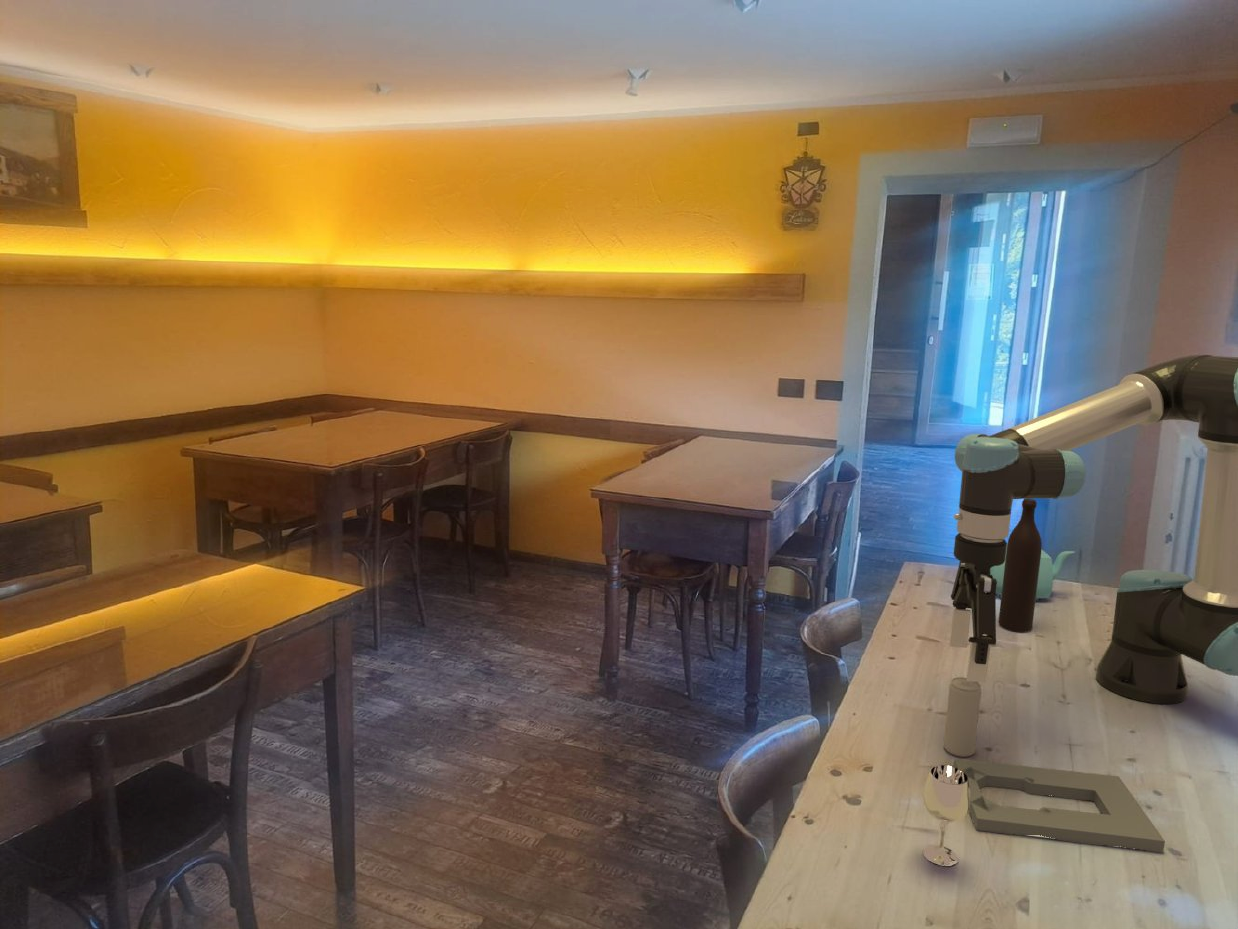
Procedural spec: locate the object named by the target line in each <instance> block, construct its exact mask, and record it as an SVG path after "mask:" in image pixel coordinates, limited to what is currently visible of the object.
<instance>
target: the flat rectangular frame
mask: <svg viewBox="0 0 1238 929" xmlns="http://www.w3.org/2000/svg"><path fill="white" fill-rule="evenodd" d="M953 767H955V768H957V769H960V770H961V771H963V772H964V773H965V774H966V775H967V777H968V781H969V788H970V807H969V811H970V812H969V811H968V812H969V814H970V813H971V815H970V817H972V818H971V820H972V819H973V820H972V822H973V821H974V823H973V825H974V824H975V826H974V828H976V829H977V830H976V829H975V830H976V831H979V832H980V831H982V832H990V833H997V834H998V833H999V834H1004V835H1005V834H1007V835H1013V834H1015V836H1021V835H1040V836H1041V835H1042V836H1044V837H1045V836H1046V837H1049V838H1050V837H1051V838H1055V839H1060V840H1059V841H1062V840H1063V842H1073V843H1079V844H1086V845H1094V844H1095V845H1096V846H1102V845H1109V846H1108V847H1111V846H1119V847H1120V846H1121V847H1126V848H1125V849H1127V848H1135V849H1140V850H1139V851H1143V850H1146V851H1145V852H1151V851H1153V853H1159V852H1162V853H1161V854H1164V850H1165V842H1166V841H1165V839H1164V838H1163V836H1162V835H1161V833H1160V832H1159V831H1158V829H1157V828H1156V826H1155V825H1154V824H1153V822H1152V821H1151V819H1150V818H1149V816H1148V815H1147V814H1146V812H1145V811H1144V810H1143V808H1142V807H1141V806H1140V804H1139V802H1138V801H1137V800H1136V799H1135V797H1134V796H1133V794H1132V793H1131V792H1130V790H1129V789H1128V787H1127V785H1126V784H1125V783H1124V781H1123V780H1122V779H1121V778H1120V776H1119V775H1109V774H1099V773H1090V772H1084V771H1083V772H1082V771H1081V772H1080V771H1073V770H1064V769H1054V768H1053V769H1052V768H1047V767H1035V766H1026V765H1019V764H1018V765H1017V764H1009V763H1000V762H999V763H997V762H992V761H990V762H989V761H982V760H981V761H980V760H973V759H972V760H971V759H964V758H963V759H962V758H956V757H955V758H954V759H953ZM985 787H992V788H994V787H995V788H1000V789H1001V788H1003V789H1012V790H1020V791H1023V792H1025V793H1026V792H1027V793H1026V794H1028V793H1029V795H1034V794H1036V795H1037V794H1038V795H1037V796H1043V795H1050V796H1049V797H1052V796H1057V797H1056V798H1061V797H1063V799H1071V800H1077V801H1078V800H1081V801H1087V800H1091V801H1090V802H1093V803H1094V802H1095V803H1094V804H1095V806H1096V807H1097V809H1098V808H1099V809H1098V811H1099V810H1100V811H1099V812H1100V813H1097V812H1096V813H1095V812H1088V811H1082V810H1081V811H1080V810H1071V809H1063V808H1054V807H1047V806H1046V807H1045V806H1042V807H1041V808H1039V809H1036V808H1035V809H1034V808H1033V809H1032V808H1025V807H1024V808H1023V807H1017V806H1008V805H1007V806H1006V805H1000V804H999V803H996V802H994V801H993V800H991V799H989V798H987V797H985V796H984V795H983V794H982V792H981V789H982V788H985ZM1051 795H1052V796H1051ZM1064 797H1065V798H1064ZM1092 800H1093V801H1092ZM1101 813H1102V814H1101ZM1017 834H1018V835H1017ZM1119 847H1118V848H1119ZM1135 849H1134V850H1135ZM1154 851H1155V852H1154Z"/></svg>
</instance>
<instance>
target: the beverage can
mask: <svg viewBox="0 0 1238 929" xmlns="http://www.w3.org/2000/svg"><path fill="white" fill-rule="evenodd" d="M966 678H967V677H960V676H959V677H953V678H951V680H950V683H949V688H948V697H947V698H948V699H947V706H946V707H947V708H946V716H945V725H944V726H945V727H944V737H943V747H944V749H945V750H946V751H947V753H949V754H951V755H952V756H955V757H960V758H968V757H971V756H972V755H973V754H974V753H975V751H976V743H977V733H978V724H979V714H980V709H981V708H980V706H981V698H982V688H981V687H982V685H981V683H980V682H973V681H967V679H966Z"/></svg>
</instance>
